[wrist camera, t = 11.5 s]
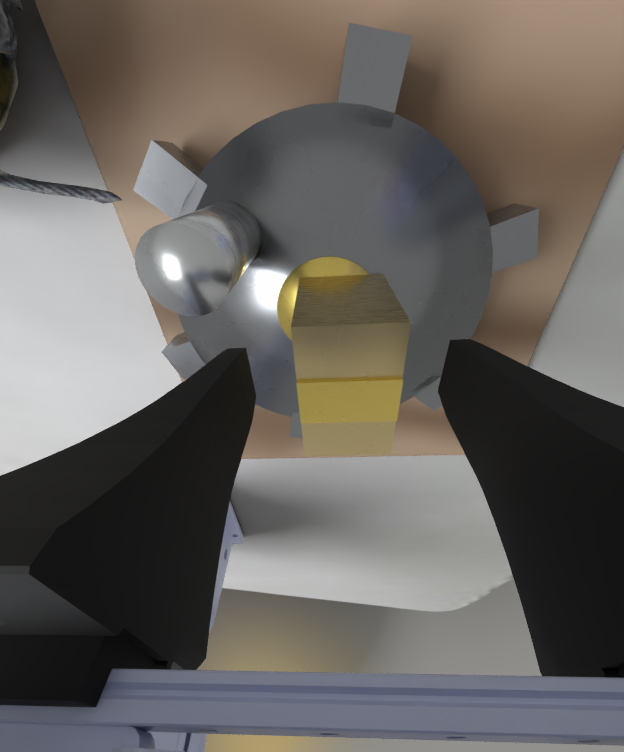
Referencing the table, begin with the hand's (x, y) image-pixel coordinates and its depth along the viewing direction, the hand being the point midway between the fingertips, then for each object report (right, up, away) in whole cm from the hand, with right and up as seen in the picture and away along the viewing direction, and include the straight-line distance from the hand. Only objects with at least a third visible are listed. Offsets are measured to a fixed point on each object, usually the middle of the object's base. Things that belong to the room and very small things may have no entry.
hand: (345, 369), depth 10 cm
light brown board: (+1, +3, +4) cm, 5 cm away
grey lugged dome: (0, +3, +3) cm, 4 cm away
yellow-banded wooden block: (0, +1, +2) cm, 3 cm away
